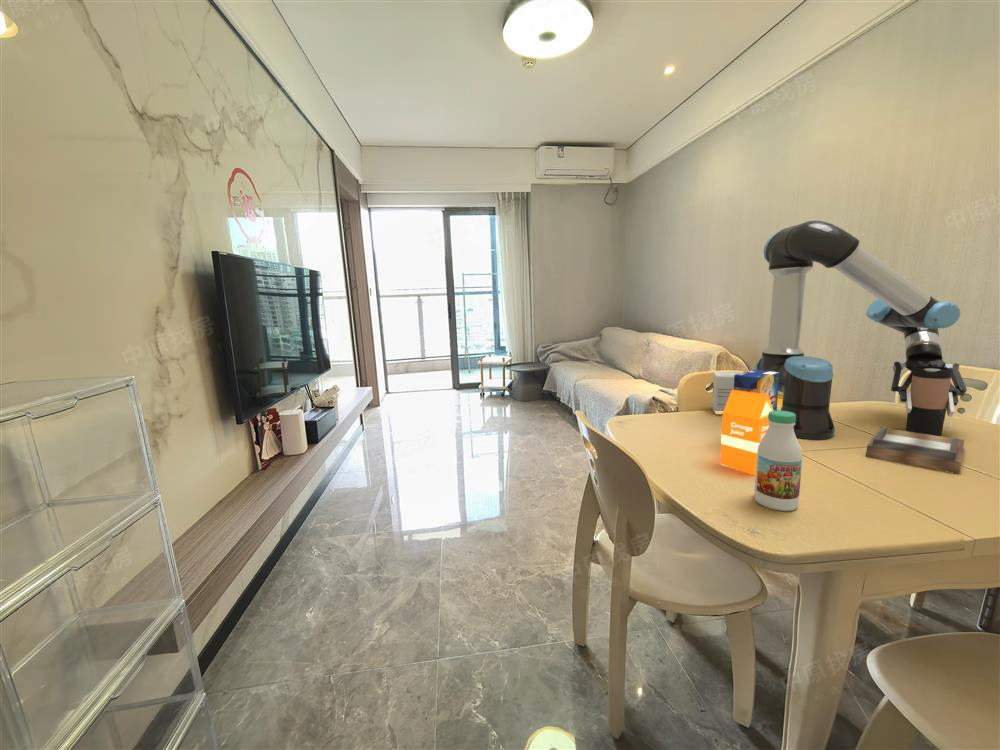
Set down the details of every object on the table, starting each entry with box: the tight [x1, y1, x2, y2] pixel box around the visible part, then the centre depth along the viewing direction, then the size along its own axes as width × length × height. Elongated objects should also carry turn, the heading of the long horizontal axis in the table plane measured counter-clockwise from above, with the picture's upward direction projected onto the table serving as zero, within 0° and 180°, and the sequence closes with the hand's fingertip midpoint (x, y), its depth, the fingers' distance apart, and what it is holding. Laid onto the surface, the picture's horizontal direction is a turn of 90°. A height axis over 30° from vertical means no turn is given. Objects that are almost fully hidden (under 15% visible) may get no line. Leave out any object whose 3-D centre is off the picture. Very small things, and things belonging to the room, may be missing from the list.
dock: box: [865, 426, 966, 475], centre depth 103 cm, size 16×23×5 cm
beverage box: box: [734, 369, 780, 411], centre depth 110 cm, size 7×11×22 cm, turn 123°
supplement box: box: [712, 371, 741, 412], centre depth 145 cm, size 9×9×15 cm
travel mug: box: [905, 366, 952, 437], centre depth 113 cm, size 8×8×20 cm
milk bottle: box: [753, 409, 803, 512], centre depth 81 cm, size 8×8×20 cm
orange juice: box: [719, 390, 773, 476], centre depth 99 cm, size 8×9×20 cm
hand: (929, 412), depth 111 cm, fingers closed on travel mug, 8 cm apart
